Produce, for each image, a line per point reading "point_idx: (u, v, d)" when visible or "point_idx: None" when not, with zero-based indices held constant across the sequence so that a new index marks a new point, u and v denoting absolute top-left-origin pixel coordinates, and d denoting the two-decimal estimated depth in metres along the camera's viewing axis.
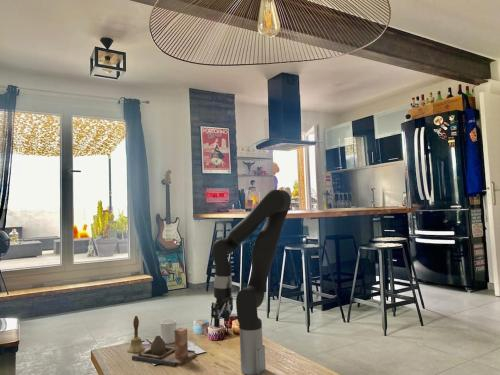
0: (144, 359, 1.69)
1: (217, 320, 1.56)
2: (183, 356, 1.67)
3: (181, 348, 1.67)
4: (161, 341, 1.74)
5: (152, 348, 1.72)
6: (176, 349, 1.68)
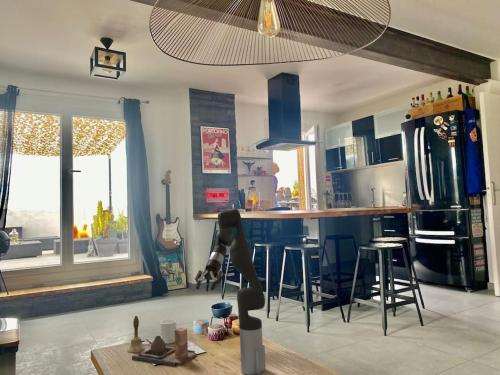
0: (144, 359, 1.69)
1: (197, 282, 1.93)
2: (183, 356, 1.67)
3: (181, 348, 1.67)
4: (161, 341, 1.74)
5: (152, 348, 1.72)
6: (176, 349, 1.68)
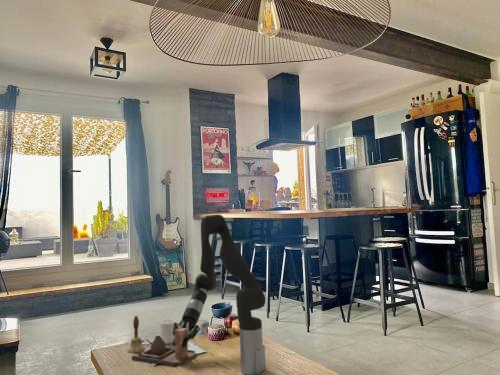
0: (144, 359, 1.69)
1: None
2: (183, 356, 1.67)
3: (181, 348, 1.67)
4: (161, 341, 1.74)
5: (152, 348, 1.72)
6: (176, 349, 1.68)
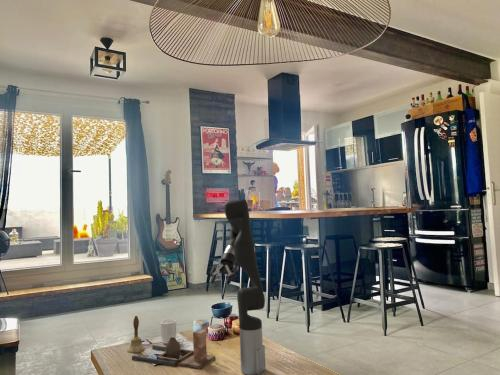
0: (144, 359, 1.69)
1: (212, 276, 1.87)
2: (202, 359, 1.63)
3: (200, 351, 1.63)
4: (176, 342, 1.71)
5: (167, 350, 1.69)
6: (195, 352, 1.64)
